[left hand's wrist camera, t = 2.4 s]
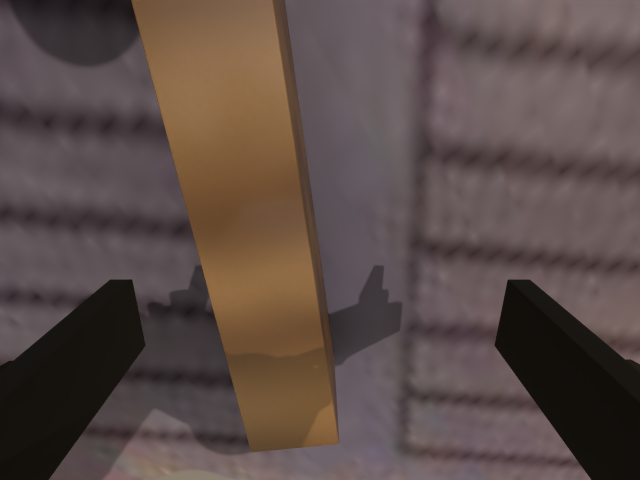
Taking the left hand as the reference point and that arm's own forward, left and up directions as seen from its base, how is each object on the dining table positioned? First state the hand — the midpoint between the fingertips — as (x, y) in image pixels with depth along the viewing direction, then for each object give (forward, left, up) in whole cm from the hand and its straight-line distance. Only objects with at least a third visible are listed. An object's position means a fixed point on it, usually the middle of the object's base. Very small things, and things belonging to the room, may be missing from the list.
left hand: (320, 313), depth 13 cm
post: (-2, +13, -14) cm, 19 cm away
